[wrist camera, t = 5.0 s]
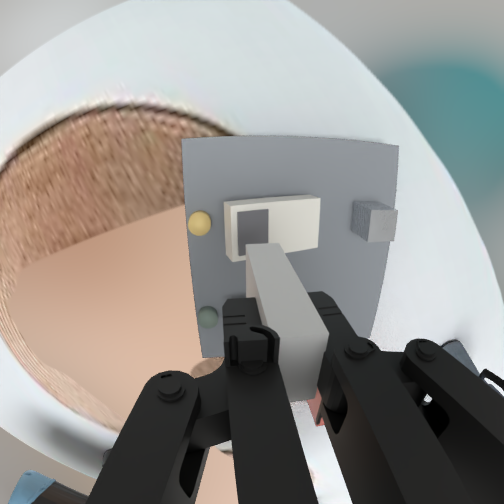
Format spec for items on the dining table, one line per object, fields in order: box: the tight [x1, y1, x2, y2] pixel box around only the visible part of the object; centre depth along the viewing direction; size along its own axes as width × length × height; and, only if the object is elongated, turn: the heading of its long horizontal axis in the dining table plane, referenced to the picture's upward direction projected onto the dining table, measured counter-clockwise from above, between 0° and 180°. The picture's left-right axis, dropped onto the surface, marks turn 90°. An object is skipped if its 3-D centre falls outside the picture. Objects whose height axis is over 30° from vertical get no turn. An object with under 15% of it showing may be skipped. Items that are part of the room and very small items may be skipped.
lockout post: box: [350, 201, 398, 242], centre depth 21 cm, size 2×2×3 cm
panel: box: [182, 136, 399, 358], centre depth 23 cm, size 17×19×4 cm
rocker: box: [224, 195, 321, 262], centre depth 19 cm, size 6×4×2 cm, turn 91°
